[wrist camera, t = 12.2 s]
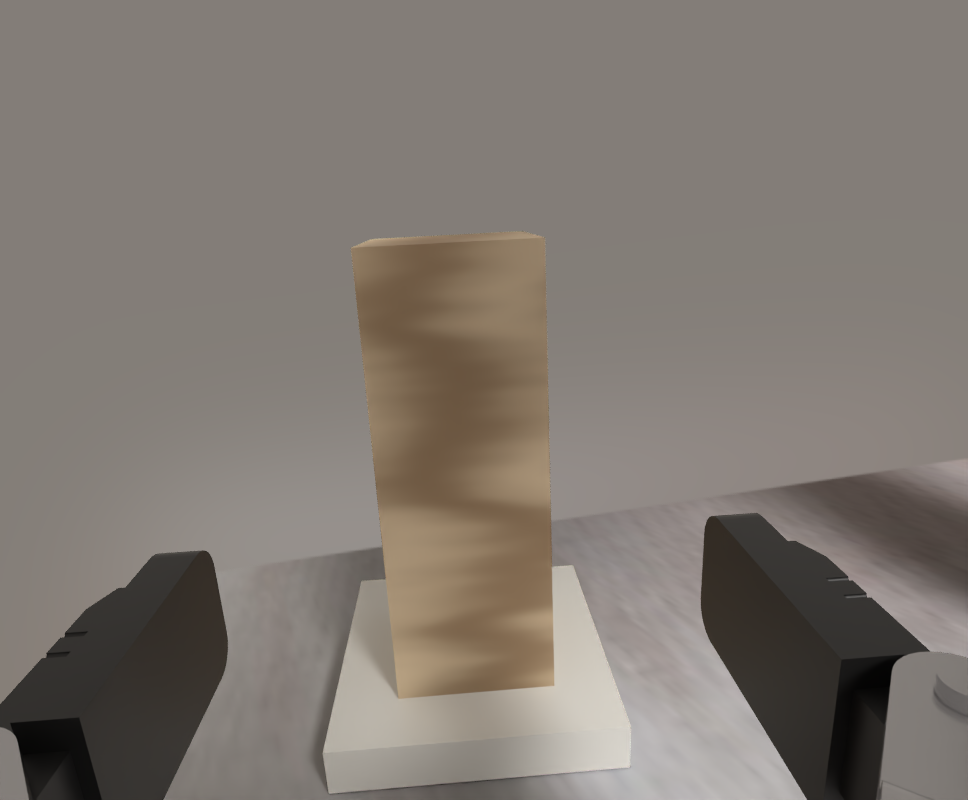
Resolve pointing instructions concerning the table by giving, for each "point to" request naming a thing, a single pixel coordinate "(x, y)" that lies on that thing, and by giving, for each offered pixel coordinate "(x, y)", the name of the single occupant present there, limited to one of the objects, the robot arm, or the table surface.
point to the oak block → (461, 455)
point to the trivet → (473, 710)
